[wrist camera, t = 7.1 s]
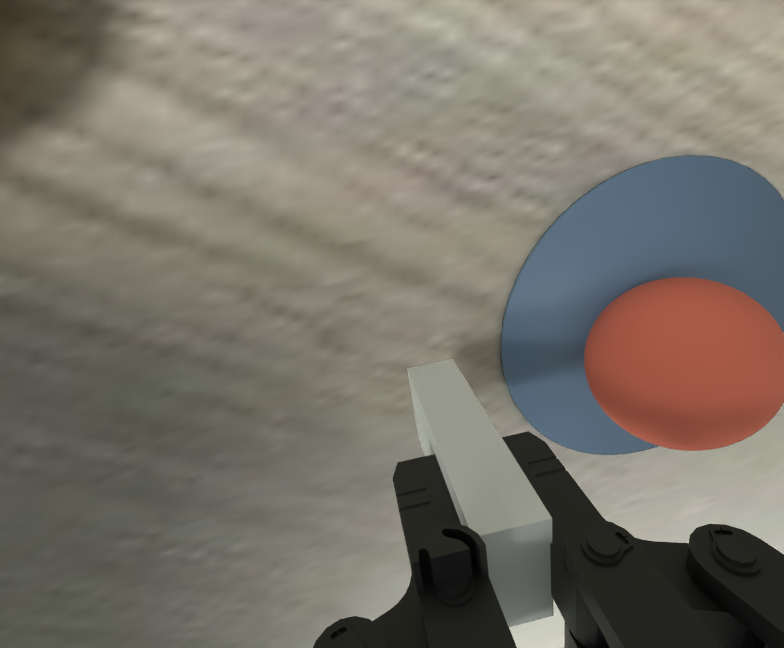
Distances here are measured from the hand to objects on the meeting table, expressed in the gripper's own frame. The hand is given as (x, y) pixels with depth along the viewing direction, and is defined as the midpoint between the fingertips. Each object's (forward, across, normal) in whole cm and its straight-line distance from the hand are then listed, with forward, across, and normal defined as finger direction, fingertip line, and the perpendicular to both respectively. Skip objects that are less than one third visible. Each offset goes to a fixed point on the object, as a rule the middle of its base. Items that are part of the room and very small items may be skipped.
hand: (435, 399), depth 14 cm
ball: (-1, +8, 0) cm, 8 cm away
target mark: (+2, +9, 0) cm, 9 cm away
